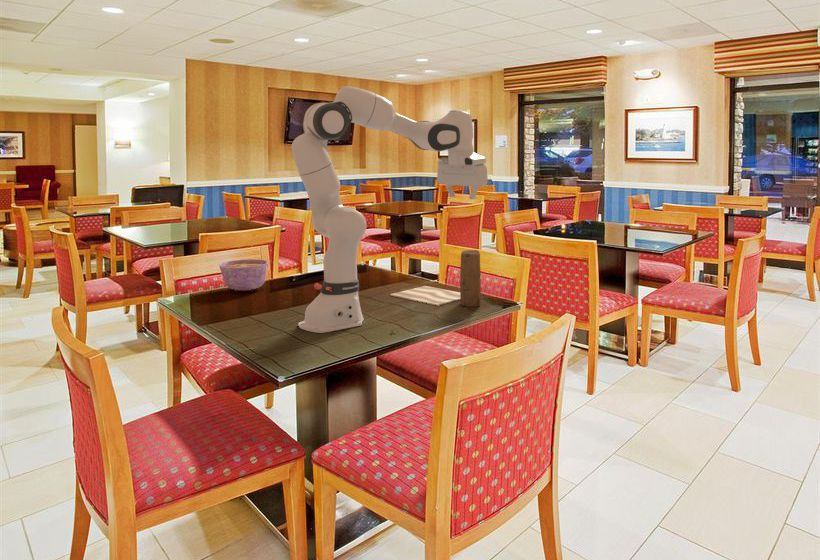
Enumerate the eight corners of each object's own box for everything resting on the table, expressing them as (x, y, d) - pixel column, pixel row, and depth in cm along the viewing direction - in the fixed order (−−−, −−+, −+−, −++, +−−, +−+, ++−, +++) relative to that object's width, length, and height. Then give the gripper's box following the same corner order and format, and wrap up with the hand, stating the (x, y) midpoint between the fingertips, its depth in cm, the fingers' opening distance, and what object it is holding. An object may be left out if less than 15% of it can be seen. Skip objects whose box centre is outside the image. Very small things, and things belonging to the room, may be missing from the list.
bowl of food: (280, 288, 264) (278, 261, 261) (245, 297, 247) (242, 269, 245) (247, 283, 274) (245, 257, 272) (211, 292, 258) (208, 265, 255)
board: (438, 306, 227) (438, 304, 227) (390, 295, 245) (390, 294, 245) (473, 296, 241) (473, 294, 241) (425, 287, 259) (425, 285, 259)
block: (481, 307, 224) (481, 253, 219) (460, 307, 224) (459, 253, 220) (480, 300, 234) (480, 248, 230) (460, 300, 235) (460, 248, 231)
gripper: (432, 158, 219) (434, 197, 223) (478, 160, 205) (479, 201, 210) (444, 156, 223) (445, 194, 228) (489, 158, 210) (490, 198, 214)
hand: (462, 198), depth 218 cm, fingers open, 8 cm apart
